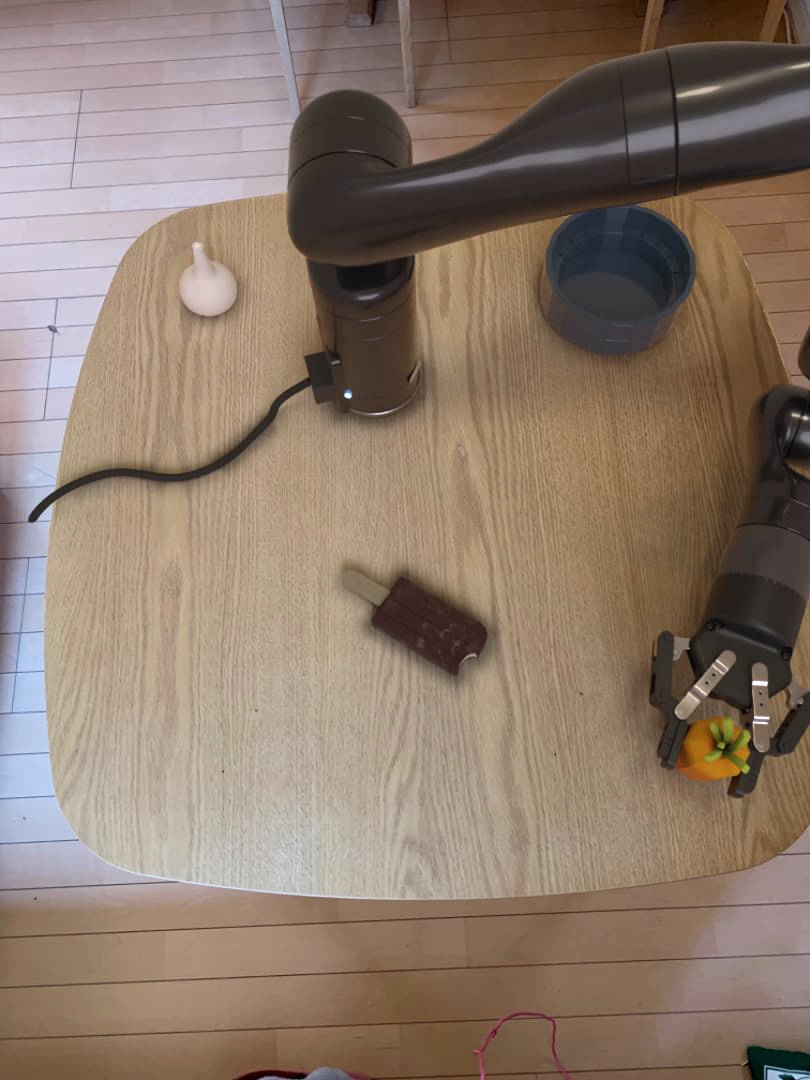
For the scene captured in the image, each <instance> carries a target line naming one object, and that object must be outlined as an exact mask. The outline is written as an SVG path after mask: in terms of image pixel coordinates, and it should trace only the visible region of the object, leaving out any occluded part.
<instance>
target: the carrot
mask: <svg viewBox="0 0 810 1080" xmlns="http://www.w3.org/2000/svg"><path fill="white" fill-rule="evenodd" d="M733 719H734V718H733V717H729V716H721V715H718V716H712V717H709V718H702V719H699V720H694V721H693V722H691V723H689V726H688V729H687V732H686V735H685V738H684V741H683V745H682V748H681V751H680V754H679V757H678V760H677V763H676V766H675V768H674V769H675V770H677V771H678V772H680V773H681V774H683V775H685V776H686V777H688V778H689V779H691V780H693V781H696V782H700V783H703V782H705V783H706V782H710V781H717V780H721V779H726V778H730V777H732V776H736V775H739V773H740V771H742V772H743V773H745V774H746V773H747V772H748V771H749V769H750V767H749V766H748V765H747V763H746V760H747V758H748V756H749V754H750V751H749V748H748V745H747V743H748V742H749V740H750V738H751V736H750V733H749V731H748V730H746V729H745V730H742V727H739V726H737V725H736V724H734V720H733Z"/></svg>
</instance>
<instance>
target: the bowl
mask: <svg viewBox="0 0 810 1080" xmlns="http://www.w3.org/2000/svg"><path fill="white" fill-rule="evenodd" d="M696 261H697V260H696V254H695V251H694V249H693V246H692V245H691V242H690V240H689V238H688V236H687V235H686V234H685V233H684V232H683V231H682V230H681V228H679V227H678V226H677V224H676V223H675V222H674V221H673V220H672V219H670V218H668V217H666V216H665V215H664V214H663V215H662V214H661V213H659V212H658V211H656V210H654V209H652V208H649V207H645V206H643V205H638V204H633V205H627V206H621V207H614V208H607V209H600V210H594V211H587V212H582V213H577V214H572V215H569V216H568V217H566V218H565V219H564V221H562V222H561V224H560V225H559V226H557V228H556V229H555V230H554V231H553V233H552V235H551V237H550V240H549V241H548V244H547V247H546V249H545V254H544V260H543V264H542V270H541V274H540V275H541V276H540V281H539V304H540V307H541V309H542V312H543V314H544V317H545V319H546V321H547V322H548V323H549V325H550V326H551V327H552V328H553V329H554V331H555V332H556V333H557V334H558V336H560V337H561V338H563V339H564V340H566V341H568V342H569V343H571V344H572V345H573V346H575V347H577V348H578V349H581V350H585V351H588V352H590V353H594V354H597V355H601V356H602V355H603V356H627V355H630V354H634V353H639V352H643V351H646V350H648V349H650V348H651V347H653V346H654V345H656V344H658V343H660V342H661V341H663V340H664V339H665V338H666V337H667V336H668V334H669V333H670V332H671V331H672V330H673V329H674V327H675V326H676V324H677V323H678V321H679V319H680V317H681V315H682V312H683V310H684V308H685V306H686V303H687V302H688V299H689V297H690V296H691V293H692V289H693V287H694V284H695V280H696V278H697V262H696Z"/></svg>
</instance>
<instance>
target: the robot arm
mask: <svg viewBox="0 0 810 1080" xmlns="http://www.w3.org/2000/svg"><path fill="white" fill-rule="evenodd" d="M288 143H289V144H288V163H287V164H288V165H287V185H286V186H287V188H286V225H287V231H288V235H289V238H290V241H291V243H292V245H293V246H294V247H295V249H296V250H297V251H298V252H299V253H300V254H302V255H303V256H304V257H305V264H306V271H307V276H308V280H309V286H310V288H311V293H312V298H313V302H314V307H315V312H316V315H315V318H316V321H317V326H318V327H317V328H318V331H319V337H320V341H321V345H322V349H323V351H319V352H318V351H317V352H314V353H310V354H306V355H303V358H304V363H305V366H306V370H307V374H308V376H307V377H306V378H304V379H302V380H300V381H299V382H297V383H296V384H294V385H292V386H290V387H289V388H287V389H286V390H284V391H283V392H282V393H280V394H279V395H278V396H277V397H276V398H275V399H274V400H273V401H272V403H271V404H270V407H269V410H268V412H267V414H266V415H265V417H264V418H263V419H262V420H260V422H259V423H258V424H257V425H256V426H255V428H254V429H253V430H252V431H251V432H249V434H248V435H247V436H245V438H244V439H242V441H240V442H239V444H237V446H235V447H234V448H233V449H232V450H230V451H229V452H227V453H226V454H224V455H223V456H222V457H219V458H218V459H215V461H212V462H210V463H209V464H206V465H204V466H202V467H199V468H196V469H193V470H190V471H186V472H179V473H163V472H155V471H150V470H143V469H137V468H128V467H116V468H107V469H103V470H99V471H95V472H92V473H88V474H86V475H83V476H80V477H78V478H76V479H73V480H71V481H70V482H68V483H65V484H63V485H62V486H60V487H58V488H56V489H55V490H54V491H52V492H51V493H49V494H48V495H47V496H45V497H44V498H43V499H42V500H41V501H40V502H39V503H38V504H37V505H36V506H35V507H34V508H33V509H32V511H31V512H30V513H29V515H28V517H27V518H28V519H27V522H28V523H29V524H33V523H35V522H36V521H38V520H39V518H40V516H41V515H42V514H43V513H44V512H45V511H46V510H47V509H48V508H49V507H50V506H51V505H52V504H54V503H55V502H57V501H58V500H59V499H61V498H62V497H63V496H65V495H67V494H68V493H70V492H72V491H74V490H76V489H79V488H81V487H83V486H86V485H89V484H92V483H94V482H97V481H100V480H104V479H108V478H116V477H127V478H128V477H129V478H139V479H145V480H150V481H156V482H163V483H164V482H165V483H180V482H186V481H191V480H195V479H198V478H201V477H204V476H206V475H208V474H211V473H213V472H216V471H217V470H219V469H221V468H223V467H224V466H226V465H228V464H229V463H231V462H232V461H233V460H235V459H236V458H238V456H239V455H241V454H242V453H243V452H245V450H246V449H247V448H248V447H249V446H250V445H251V444H252V443H253V442H254V441H255V440H257V439H258V438H259V436H260V435H261V434H262V433H264V431H265V430H266V429H267V428H268V426H270V425H271V423H272V422H273V421H274V420H275V419H276V417H277V415H278V412H279V410H280V408H281V406H282V405H283V404H284V403H285V402H286V401H287V400H289V399H290V398H291V397H293V396H295V395H296V394H298V393H300V392H302V391H304V390H305V389H307V388H309V387H311V391H312V394H313V397H314V401H315V405H321V404H324V403H329V402H334V401H335V402H336V406H337V409H338V412H339V413H340V414H346V413H351V414H354V415H357V416H359V417H363V418H368V419H369V418H370V419H378V418H385V417H389V416H393V415H394V414H396V413H398V412H400V411H402V410H404V409H405V408H406V407H407V406H408V405H410V403H411V402H412V401H413V400H414V398H415V397H416V394H417V393H418V391H419V388H420V380H421V371H420V367H421V365H422V359H421V358H420V359H419V336H418V309H417V277H416V275H417V273H416V271H417V270H416V269H417V268H416V255H417V254H420V253H423V252H427V251H430V250H434V249H438V248H441V247H445V246H448V245H451V244H454V243H457V242H461V241H465V240H468V239H472V238H475V237H479V236H482V235H486V234H490V233H493V232H498V231H501V230H502V231H503V230H506V229H510V228H515V227H519V226H524V225H525V226H526V225H528V224H533V223H534V224H535V223H538V222H543V221H547V220H551V219H552V220H553V219H556V218H562V217H566V216H571V215H573V214H577V213H582V212H587V211H594V210H600V209H607V208H614V207H621V206H627V205H633V204H635V205H638V204H643V203H647V202H648V203H649V202H654V201H660V200H665V199H670V198H673V197H680V196H685V195H688V194H692V193H697V192H701V191H705V190H710V189H716V188H720V187H725V186H732V185H737V184H744V183H749V182H754V181H760V180H766V179H771V178H777V177H782V176H788V175H792V174H797V173H802V172H806V171H810V44H798V43H797V44H795V43H794V44H792V43H780V42H765V41H743V40H742V41H741V40H739V41H738V40H736V41H735V40H724V41H723V40H722V41H721V40H720V41H719V40H718V41H717V40H716V41H698V42H689V43H682V44H676V45H675V44H674V45H669V46H665V47H661V48H656V49H652V50H648V51H643V52H640V53H635V54H630V55H625V56H621V57H617V58H612V59H608V60H604V61H602V62H599V63H596V64H592V65H589V66H588V67H586V68H583V69H581V70H580V71H578V72H576V73H574V74H573V75H571V76H569V77H568V78H566V79H565V80H563V81H562V82H561V83H559V84H558V85H556V86H555V87H554V88H552V89H551V90H549V91H548V92H546V93H545V94H544V95H543V96H541V97H539V99H537V100H536V101H535V102H534V103H532V104H531V105H530V106H528V107H527V108H526V109H525V110H523V111H522V112H521V113H519V114H518V116H516V117H514V119H512V120H511V121H510V122H509V123H507V124H506V125H505V126H503V127H502V128H501V129H499V130H498V131H496V132H495V133H493V134H491V136H489V137H487V138H485V139H484V140H482V141H480V142H478V143H476V144H474V145H472V146H470V147H468V148H465V149H464V150H460V151H457V152H455V153H452V154H449V155H446V156H442V157H440V158H436V159H435V158H434V159H430V160H427V161H426V160H425V161H422V162H418V163H414V157H413V153H414V152H413V143H412V137H411V135H410V131H409V129H408V126H407V124H406V123H405V121H404V119H403V117H402V116H401V115H400V114H399V112H398V111H397V110H396V109H395V108H394V107H393V106H392V105H390V103H388V102H387V101H385V100H384V99H383V98H381V97H379V96H377V95H376V94H373V93H371V92H368V91H365V90H361V89H355V88H341V89H334V90H331V91H328V92H325V93H323V94H321V95H319V96H317V97H315V98H314V99H313V100H311V101H310V102H309V103H307V104H306V105H305V106H304V108H303V109H302V110H301V111H300V112H299V114H298V115H297V117H296V118H295V120H294V123H293V125H292V128H291V131H290V136H289V141H288ZM797 353H798V354H797V366H798V368H799V371H800V373H801V375H802V376H804V377H805V379H807V380H808V381H810V324H809V325H808V327H807V330H806V332H805V335H804V337H803V339H802V341H801V344H800V347H799V350H798V352H797ZM746 453H747V473H746V485H745V490H744V493H743V494H744V495H743V498H742V502H741V506H740V508H739V511H738V515H737V518H736V521H735V524H734V527H733V531H732V533H731V535H730V537H729V540H728V542H727V544H726V545H725V548H724V550H723V552H722V555H721V557H720V560H719V562H718V565H717V566H716V568H715V571H714V574H713V576H714V578H713V581H712V584H711V586H710V587H711V588H710V590H709V594H708V596H707V600H706V603H705V606H704V609H703V612H702V615H701V618H700V621H699V625H698V627H697V629H696V631H695V633H694V634H693V635H691V636H690V637H689V638H688V637H682V636H676V635H674V634H673V633H672V631H669V630H663V631H661V632H660V633H659V634H658V635H657V636H656V637H655V638H654V639H653V640H652V645H651V659H650V671H649V673H650V674H649V687H648V704H649V705H650V706H652V707H653V708H656V709H657V710H659V711H660V712H661V713H662V714H663V716H664V718H665V723H664V726H663V729H662V732H661V735H660V738H659V742H658V744H657V747H656V758H657V759H659V760H661V761H660V767H661V768H663V769H665V770H668V771H671V770H674V769H675V766H676V763H677V760H678V757H679V754H680V751H681V748H682V745H683V741H684V738H685V735H686V732H687V729H688V726H689V725H690V723H688V722H687V720H688V718H689V717H690V716H691V715H692V714H693V712H694V711H695V710H696V709H697V708H698V706H699V705H700V704H701V702H703V701H704V700H705V699H706V698H708V699H711V700H716V701H717V700H718V701H723V702H724V703H725V704H726V705H728V706H729V707H732V708H734V709H736V710H738V717H739V723H740V726H741V729H742V730H745V729H746V730H748V731H749V733H750V736H751V738H750V740H749V742H748V743H747V745H748V748H749V751H750V754H749V756H748V758H747V760H746V763H747V765H748V766H749V767H750V769H749V771H748V772H747V773H746V774H745V773H743V772H742V771H740V773H739V775H736V776H731V778H730V781H729V785H728V787H727V791H726V794H727V796H728V797H731V798H734V799H735V800H738V799H743V798H744V796H745V795H748V794H751V793H752V792H753V791H754V790H755V789H756V786H757V783H758V779H759V775H760V772H761V770H762V769H761V768H762V765H763V762H764V758H765V757H766V756H771V757H774V758H779V757H782V756H784V755H789V754H792V753H793V752H794V751H795V749H796V747H797V746H798V744H799V742H800V741H801V739H802V737H803V736H804V734H805V732H806V731H807V729H808V728H809V726H810V689H808V688H807V687H805V686H804V685H802V684H801V683H799V681H797V680H795V679H793V671H792V668H791V660H792V657H793V654H794V651H795V647H796V643H797V641H798V636H799V634H800V630H801V627H802V623H803V621H804V620H803V619H804V616H805V612H806V608H807V605H808V603H809V599H810V478H808V477H807V476H805V475H803V474H802V473H800V472H798V471H796V470H795V469H799V470H804V471H807V472H810V388H807V387H804V386H800V385H796V384H792V383H783V382H782V383H776V384H774V385H773V384H772V385H771V386H770V387H768V388H766V389H765V390H763V391H762V392H761V393H760V394H759V395H758V396H757V397H756V398H755V400H754V402H753V403H752V405H751V407H750V410H749V413H748V418H747V425H746ZM792 467H793V468H795V469H793V468H792ZM683 652H685V653H686V656H687V659H688V662H689V664H690V667H691V671H692V673H693V676H694V679H693V680H692V681H691V682H690V684H689V685H688V686H687V687H686V688H685V690H684V691H683V692H682V693H681V696H680V697H679V698H678V699H677V698H675V696H673V695H672V684H673V670H674V669H673V668H674V667H673V665H674V663H675V662H677V661H678V660H680V659H681V657H682V653H683ZM782 691H783V692H784V693H785V695H786V699H785V702H784V703H785V707H786V709H787V710H788V712H787V713H786V715H785V717H784V719H783V720H782V722H781V724H780V725H779V727H778V728H777V730H776V732H775V733H774V735H773V737H770V729H769V722H770V719H771V711H770V699H771V698H773V697H774V696H776V695H777V694H779V693H780V692H782Z"/></svg>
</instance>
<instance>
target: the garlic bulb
mask: <svg viewBox="0 0 810 1080" xmlns="http://www.w3.org/2000/svg"><path fill="white" fill-rule="evenodd" d="M191 248H192V255H193V256H192V258H193V263H192V264H190V265H188V267H185V269H184V271H183V272H182V273H181V275H180V278H179V280H178V293H179V297H180V299H181V301H182V303H183V305H185V307H186V308H187V309H189V310H190V311H191V312H193V313H194V314H197V315H200V316H204V317H214V316H218V315H220V314H223V313H225V312H227V311H228V310H229V309H230V308H232V306H233V305H234V303H235V302H236V300H237V297H238V283H237V279H236V277H235V275H234V273H233V272H232V271H231V269H230V268H228V267H227V266H226V265H224V264H223V263H221V262H219V261H215V260H210V259H209V256H208V255H207V252H206V251H205V248H204V244H203V243H202V242H201V241H200V242H199V241H195V242H193V243H192V246H191Z"/></svg>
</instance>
